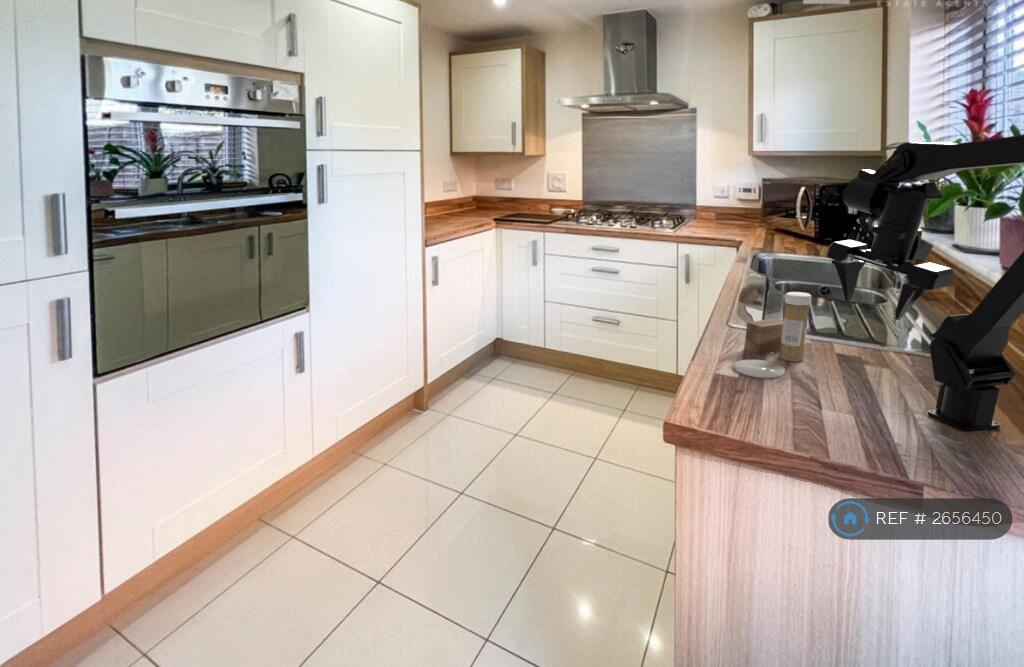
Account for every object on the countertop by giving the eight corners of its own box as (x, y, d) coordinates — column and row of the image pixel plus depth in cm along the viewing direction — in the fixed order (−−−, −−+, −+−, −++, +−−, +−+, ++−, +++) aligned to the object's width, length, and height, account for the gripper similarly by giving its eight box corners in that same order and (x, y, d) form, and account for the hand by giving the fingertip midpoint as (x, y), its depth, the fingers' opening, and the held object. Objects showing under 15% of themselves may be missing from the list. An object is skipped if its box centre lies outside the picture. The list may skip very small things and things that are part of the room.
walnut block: (788, 350, 123) (791, 322, 122) (758, 354, 120) (761, 326, 119) (773, 345, 127) (776, 318, 125) (744, 349, 124) (747, 322, 122)
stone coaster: (794, 376, 108) (795, 373, 108) (749, 379, 107) (750, 376, 106) (767, 361, 116) (767, 358, 116) (724, 364, 115) (725, 361, 115)
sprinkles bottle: (807, 359, 117) (816, 293, 113) (794, 363, 115) (803, 296, 111) (786, 353, 121) (794, 290, 117) (773, 358, 118) (781, 292, 115)
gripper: (989, 231, 92) (954, 322, 98) (875, 206, 107) (852, 286, 113) (948, 238, 87) (914, 333, 94) (836, 211, 102) (813, 294, 109)
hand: (871, 309), depth 103 cm, fingers open, 9 cm apart
